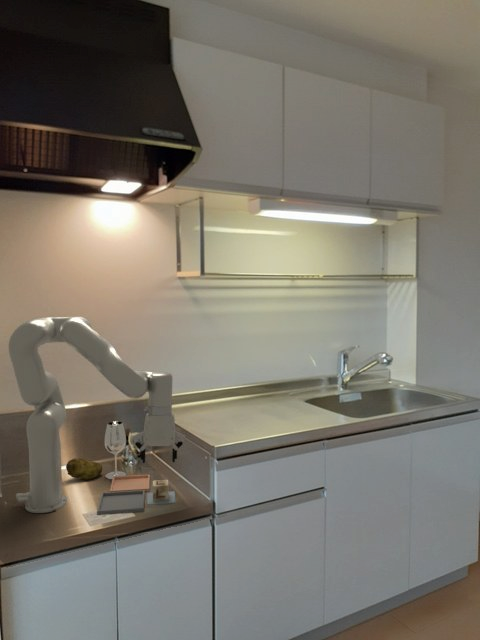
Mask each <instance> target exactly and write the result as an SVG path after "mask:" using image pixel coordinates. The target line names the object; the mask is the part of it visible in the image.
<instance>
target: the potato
mask: <svg viewBox="0 0 480 640" xmlns="http://www.w3.org/2000/svg"><path fill="white" fill-rule="evenodd" d="M65 469H66V471H67V475H69V476H70V478H71V477H72V478H74V479H80V480H84V481H85V480H87V481H88V480H92V479H95V478H97V477H99V476H100V475H101V474H102V471H103V465H102V464H100V463H99V462H95V461H91V460H88V459H85V458H81V457H75V458H72V459H70V460H68V461H67V463H66V465H65Z"/></svg>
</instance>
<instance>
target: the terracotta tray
mask: <svg viewBox="0 0 480 640" xmlns="http://www.w3.org/2000/svg"><path fill="white" fill-rule="evenodd" d="M150 477H151V476H150V474H136V475H134V474H133V475H126V476H115V477H113V480H111V485H110V490H109V492H121V491H137V490H145V493H150V483H151V482H150V481H151V479H150Z"/></svg>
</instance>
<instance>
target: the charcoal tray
mask: <svg viewBox="0 0 480 640" xmlns="http://www.w3.org/2000/svg"><path fill="white" fill-rule="evenodd" d="M145 495H146V492H145V490H137V491H121V492H110V491H109V492H108V491H107V492H101V495H100V499H99V503H98V507H97V511H96V514H97V515H109V514H111V515H112V514H123V513H125V514H126V513H137V512H139V513H140V512H144V510H145Z"/></svg>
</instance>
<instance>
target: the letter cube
mask: <svg viewBox="0 0 480 640" xmlns="http://www.w3.org/2000/svg"><path fill="white" fill-rule="evenodd" d="M168 492H169V480H168V479H159V480H158V479H157V480H152V493H153V501H167V500H169V493H168Z"/></svg>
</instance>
